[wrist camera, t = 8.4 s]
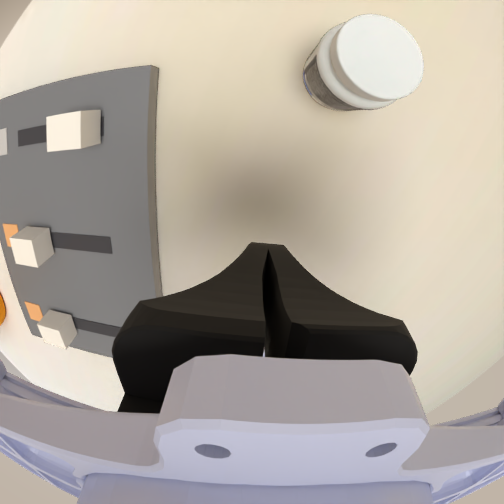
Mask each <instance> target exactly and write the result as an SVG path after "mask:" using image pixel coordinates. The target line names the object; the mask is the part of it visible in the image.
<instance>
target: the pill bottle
mask: <svg viewBox="0 0 504 504" xmlns="http://www.w3.org/2000/svg"><path fill="white" fill-rule="evenodd" d="M423 71H424V62H423V56H422V53H421V50H420V48H419V45H418V43H417V42H416V40H415V39H414V37H413V36H412V35H411V34H410V33H409V32H408V31H407V30H406V29H405V28H404V27H403V26H402V25H401V24H399V23H398V22H396V21H394V20H392V19H390V18H388V17H385V16H382V15H377V14H364V15H359V16H356V17H353V18H352V19H350V20H348V21H347V22H344V23H341V24H339V25H337V26H335V27H333V28H332V29H330V30H329V31H328V32H327V33H326V34H325V35H324V36H323V37H322V38H321V40H320V42H319V43H318V45H317V46H316V48H315V49H314V50H313V52H312V53H311V54H310V56H309V57H308V59H307V61H306V63H305V66H304V70H303V80H304V84H305V86H306V89H307V91H308V92H309V94H310V95H311V97H312V98H313V99H314V100H315V101H316V102H318V103H319V104H321V105H322V106H324V107H326V108H329V109H332V110H336V111H351V110H374V109H380V108H383V107H386V106H388V105H390V104H392V103H393V102H395V101H396V100H397V99H401V98H403V97H406V96H408V95H409V94H411V93H412V92H413V91H414V90H415V89H416V88H417V87H418V85H419V83H420V81H421V79H422V76H423Z"/></svg>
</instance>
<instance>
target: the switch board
mask: <svg viewBox="0 0 504 504" xmlns="http://www.w3.org/2000/svg"><path fill="white" fill-rule="evenodd" d="M158 73H159V68H157V67H155V66H152V65H148V66H139V67H130V68H123V69H116V70H110V71H104V72H98V73H93V74H88V75H83V76H78V77H74V78H70V79H65V80H61V81H57V82H54V83H50V84H46V85H43V86H39V87H36V88H33V89H29V90H26V91H23V92H20V93H17V94H14V95H12V96H9V97H6V98H3V99H1V100H0V241H1V246H2V249H3V253H4V257H5V261H6V264H7V268H8V271H9V274H10V277H11V281H12V284H13V287H14V290H15V292H16V295H17V298H18V301H19V304H20V306H21V309H22V312H23V314H24V317H25V319H26V322H27V324H28V326H29V329H30V331H31V333H32V335H35V336H38V337H41V338H42V335H41V333H40V331H39V328H38V326H37V324H38V322H39V321H40V320H41V319H42V318H43V316H44V315H45V314H46V313H47V312H48V311H49V310H53V311H57V312H61V313H65V314H69V315H71V316H72V319H73V322H74V325H75V328H76V331H77V335H76V336H75V338H74V339H73V341H72V342H71V343H70V345H69V346H70V347H73V348H77V349H80V350H84V351H88V352H91V353H95V354H99V355H103V356H107V357H112V358H113V356H112V346H113V342H114V339H115V338H116V336H117V334H118V332H119V331H120V329H121V327H122V326H123V324H124V322H125V320H126V319H127V317H128V316H129V314H130V313H131V311H132V310H133V309H134V308H135V306H136V305H137V304H138V302H139V301H141V300H147V299H153V298H158V297H162V288H161V278H160V266H159V253H158V238H157V219H156V191H155V133H156V105H157V87H158ZM85 110H101V122H100V141H101V144H97V145H93V146H89V147H85V148H82V149H72V150H61V151H52V152H47V129H46V117H48V116H54V115H59V114H64V113H70V112H76V111H85ZM27 226H29V227H43V228H49V230H50V236H51V241H52V246H53V250H54V254H53V255H52V256H51V257H50V258H49V259H47V260H46V261H45V262H44V263H43V264H42V265H40V266H39V267H38V268H37V267H32V266H26V265H21V264H16V262H15V258H14V255H13V251H12V247H11V243H10V237H11V236H13V235H14V234H16V233H17V232H19V231H20V230H22V229H23V228H25V227H27Z"/></svg>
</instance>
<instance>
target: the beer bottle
mask: <svg viewBox="0 0 504 504" xmlns="http://www.w3.org/2000/svg"><path fill="white" fill-rule="evenodd" d="M5 313H6V311H5V305H4V302H3V299H2V296H1V294H0V325H1V324H2V323H3V321H4V318H5Z"/></svg>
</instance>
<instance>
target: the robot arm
mask: <svg viewBox="0 0 504 504" xmlns="http://www.w3.org/2000/svg"><path fill="white" fill-rule="evenodd" d="M417 353H418V351H417V348H416V345H415V343H414V341H413V339H412V337H411V335H410V333H409V331H408V329H407V327H406V325H405V324H404V322H403V321H402V320H399V319H396V318H392V317H389V316H386V315H383V314H379V313H376V312H374V311H371V310H369V309H367V308H364V307H362V306H359V305H357V304H355V303H353V302H351V301H349V300H347V299H346V298H344V297H342V296H340V295H338V294H337V293H335V292H334V291H332V290H331V289H329V288H328V287H326V286H325V285H324V284H322V283H321V282H319V281H318V280H317V279H316V278H315V277H313V276H312V275H311V274H310V273H309V272H308V271H307V270H306V269H305V268H304V267H303V266H302V265H301V264H300V263H299V262H298V261H297V260H296V259H295V258H294V257H293V256H292V254H291V253H290V252H289V251H288V250H287V248H286V247H285V246H284V245H277V244H266V243H254V242H251V243H250V244H249V245H248V246H247V248H246V249H245V250H244V251H243V253H242V254H241V255H240V256H239V257H238V258H237V259H236V260H235V261H234V262H233V263H232V264H230V265H229V266H228V267H227V268H226V269H224V270H223V271H222V272H221V273H219V274H218V275H216V276H214V277H213V278H211V279H209V280H208V281H205V282H203V283H201V284H199V285H197V286H195V287H192V288H190V289H187V290H184V291H182V292H178V293H175V294H171V295H168V296H163V297H158V298H153V299H147V300H141V301H139V302H138V304H137V305H136V306H135V308H134V309H133V310H132V311H131V313H130V314H129V316H128V317H127V319H126V320H125V322H124V324H123V326H122V327H121V329H120V331H119V332H118V334H117V336H116V338H115V339H114V342H113V346H112V356H113V361H114V364H115V367H116V370H117V373H118V376H119V378H120V381H121V384H122V386H123V389H124V392H125V395H124V397H123V399H122V402H121V404H120V407H119V409H118V412H112V411H104V410H101V409H98V408H95V407H92V406H88V405H85V404H83V403H80V402H77V401H74V400H71V399H68V398H66V397H63V396H61V395H58V394H55V393H53V392H50V391H48V390H46V389H43V388H41V387H39V386H36V385H34V384H32V383H29V382H27V381H25V380H23V379H21V378H19V377H17V376H15V375H13V374H11V373H8V372H7V371H6V368H5V366H4V364H3V362H2V361H1V359H0V451H1V452H2V453H3V454H5V455H6V456H7V457H9V458H11V459H12V460H13V461H15V462H16V463H18V464H19V465H21V466H22V467H24V468H25V469H27V470H29V471H30V472H32V473H33V474H35V475H37V476H39V477H40V478H42V479H43V480H45V481H47V482H49V483H50V484H52V485H54V486H56V487H58V488H60V489H61V490H63V491H66V492H67V493H69V494H71V495H73V496H75V497H77V498H79V499H78V501H77V504H449V503H451V502H454V501H455V500H458V499H460V498H462V497H464V496H466V495H468V494H470V493H472V492H474V491H476V490H478V489H480V488H482V487H484V486H486V485H488V484H490V483H492V482H493V481H495V480H497V479H499V478H501V477H502V476H504V398H503V400H502V401H501V402H500V403H499V405H498V407H496V408H493V409H490V410H487V411H484V412H480V413H477V414H474V415H470V416H467V417H463V418H460V419H456V420H452V421H448V422H444V423H440V424H435V425H431V426H429V423H428V420H427V418H426V415H425V412H424V410H423V407H422V404H421V402H420V399H419V397H418V394H417V392H416V389H415V387H414V384H413V382H412V379H411V377H410V374H411V373H412V371H413V369H414V366H415V364H416V362H417Z"/></svg>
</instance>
